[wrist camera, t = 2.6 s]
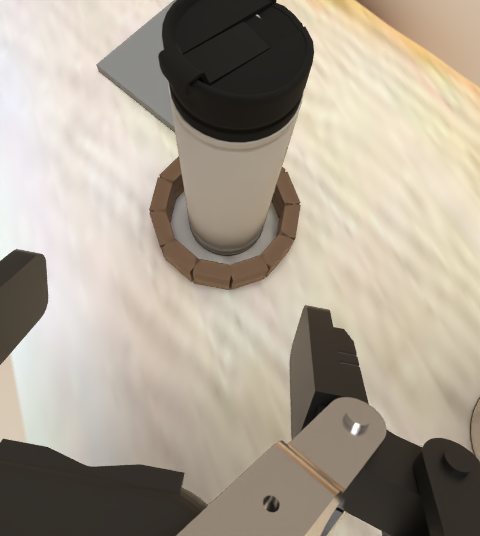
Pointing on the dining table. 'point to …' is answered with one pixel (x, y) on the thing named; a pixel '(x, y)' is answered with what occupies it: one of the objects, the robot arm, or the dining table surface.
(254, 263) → the ring
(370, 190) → the dining table surface
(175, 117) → the travel mug
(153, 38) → the slate mat
